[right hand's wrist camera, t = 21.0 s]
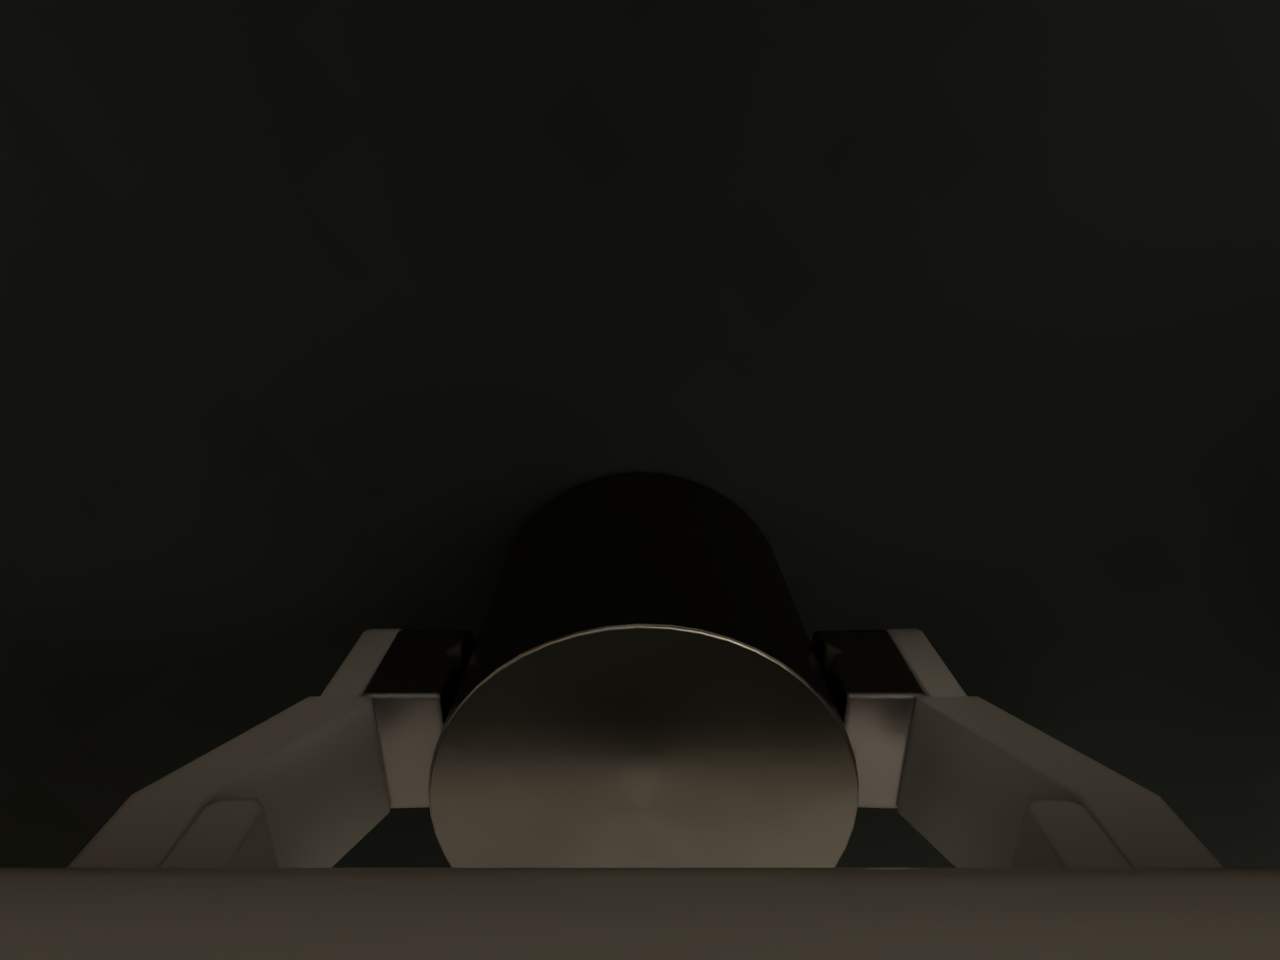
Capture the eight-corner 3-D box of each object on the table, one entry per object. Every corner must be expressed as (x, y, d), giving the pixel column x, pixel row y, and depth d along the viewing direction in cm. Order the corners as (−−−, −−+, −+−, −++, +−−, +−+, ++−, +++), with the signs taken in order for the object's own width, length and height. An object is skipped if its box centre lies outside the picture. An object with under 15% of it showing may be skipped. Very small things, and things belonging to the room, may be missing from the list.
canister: (768, 451, 12) (849, 594, 7) (792, 699, 13) (869, 938, 9) (472, 495, 12) (373, 659, 7) (533, 732, 14) (483, 980, 9)
